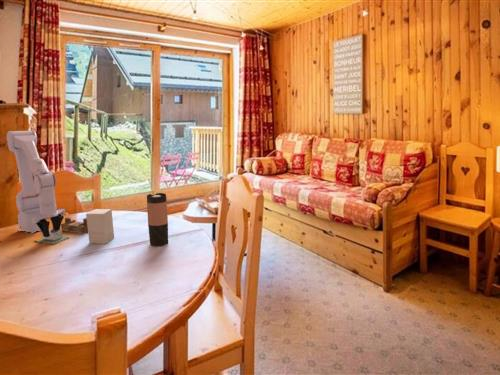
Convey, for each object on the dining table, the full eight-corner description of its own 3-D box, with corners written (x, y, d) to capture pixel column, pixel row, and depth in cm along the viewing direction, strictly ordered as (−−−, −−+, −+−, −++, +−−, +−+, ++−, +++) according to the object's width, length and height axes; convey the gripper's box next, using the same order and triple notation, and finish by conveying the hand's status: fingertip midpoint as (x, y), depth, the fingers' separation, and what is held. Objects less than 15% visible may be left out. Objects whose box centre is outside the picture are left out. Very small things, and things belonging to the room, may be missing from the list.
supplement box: (114, 237, 145) (112, 208, 142) (105, 244, 138) (103, 213, 135) (98, 237, 146) (95, 208, 143) (88, 243, 139) (85, 213, 136)
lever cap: (41, 239, 141) (40, 230, 140) (51, 235, 145) (50, 227, 144) (53, 240, 139) (52, 232, 138) (62, 237, 143) (61, 228, 143)
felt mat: (34, 241, 140) (34, 240, 140) (51, 235, 148) (51, 234, 148) (53, 244, 137) (53, 243, 137) (69, 238, 145) (69, 237, 144)
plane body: (61, 230, 154) (60, 217, 153) (70, 227, 159) (69, 214, 157) (85, 233, 150) (83, 220, 149) (93, 230, 155) (92, 217, 153)
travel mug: (163, 247, 135) (161, 197, 131) (145, 245, 136) (142, 196, 132) (171, 240, 142) (169, 193, 138) (154, 239, 143) (152, 192, 139)
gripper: (39, 208, 131) (43, 241, 134) (69, 199, 145) (73, 230, 147) (25, 206, 133) (30, 239, 136) (56, 198, 147) (60, 228, 150)
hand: (51, 234), depth 142 cm, fingers closed on lever cap, 4 cm apart
